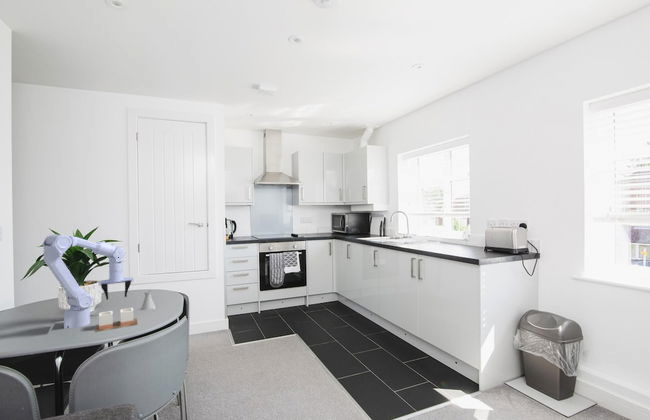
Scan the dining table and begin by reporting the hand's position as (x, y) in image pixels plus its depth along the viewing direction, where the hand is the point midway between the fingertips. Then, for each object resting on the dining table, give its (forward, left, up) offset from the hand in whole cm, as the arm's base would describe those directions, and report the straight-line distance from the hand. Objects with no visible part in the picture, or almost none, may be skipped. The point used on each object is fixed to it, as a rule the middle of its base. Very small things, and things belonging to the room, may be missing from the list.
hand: (116, 297), depth 163 cm
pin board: (0, -18, -9) cm, 20 cm away
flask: (+14, +2, -10) cm, 17 cm away
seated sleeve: (-4, -18, -8) cm, 20 cm away
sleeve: (+4, -18, -8) cm, 20 cm away
